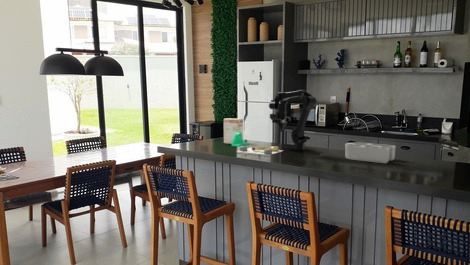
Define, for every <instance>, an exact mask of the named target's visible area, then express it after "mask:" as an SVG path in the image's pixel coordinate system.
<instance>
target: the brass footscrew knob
mask: <svg viewBox="0 0 470 265" xmlns="http://www.w3.org/2000/svg"><path fill="white" fill-rule="evenodd" d="M251 148H252V150H253V151H255V150H264V149H272V151H279V150H280V147H279V146H278V145H277V146H276V145H274V146H273V145H272V146H252V147H251Z"/></svg>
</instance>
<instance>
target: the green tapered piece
mask: <svg viewBox="0 0 470 265" xmlns="http://www.w3.org/2000/svg"><path fill="white" fill-rule="evenodd" d="M247 145H250V142H247V141H246V142H245V141H244V139H243V140H242V134H241V133H236V134H235V136H234V139H233V141H232V144H231V146H232V147H236V148H238V147H239V148H240V147H241V146H247Z"/></svg>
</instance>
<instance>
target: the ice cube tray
mask: <svg viewBox="0 0 470 265" xmlns="http://www.w3.org/2000/svg"><path fill="white" fill-rule="evenodd" d="M344 146H345V149H344V150H345V151H344V152H345V154H344V156H345V159H349V160H355V161H360V162H361V161H362V162H372V163H379V164H387V163H389V161H394V160H395V158H396V147H397V146H396V145H391V144H382V143H381V144H380V143H369V142H347V143H344Z"/></svg>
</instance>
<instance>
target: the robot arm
mask: <svg viewBox="0 0 470 265" xmlns="http://www.w3.org/2000/svg"><path fill="white" fill-rule="evenodd" d="M274 97H275V98H274V99H271V100H270V102H269V104H268V107H269V109H270V110H275V111H276V113H270V114H269V119H270V120H271V122H272V124H273V123H274V124H277V125H278V127H279V130H280V133H283V132H284V130H285V128H286V125H287V124H288V122H291V121H292V118H291V117H290V116H287V113H288V111H287V104H288V105H289V102H288V101H287V100H289V99H291V98H298V97H299V98H300V100H301V102H302V111H301V113H300V116H299V120H298V122H297V125H296V127H294V128H292V130H291V133H290V134H291V135H290V137H291V141H292V143H293V150H296V151H304V150H306V149H305V146H306V143H307V141H308V140H307V138H306V136H305V126H306V124H307V121H308V118H309V116H310V113H311V110H312V109H313V108H314V107H315V106H316V104H317V99H316V97H315V96H313V94H310V93H309V92H307V91H306V90H305V89H299V90H296V91H289V92H287V91H285V92H284V91H282V92H281V91H280V92H279V91H278V92H277V93H276V96H274Z"/></svg>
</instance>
